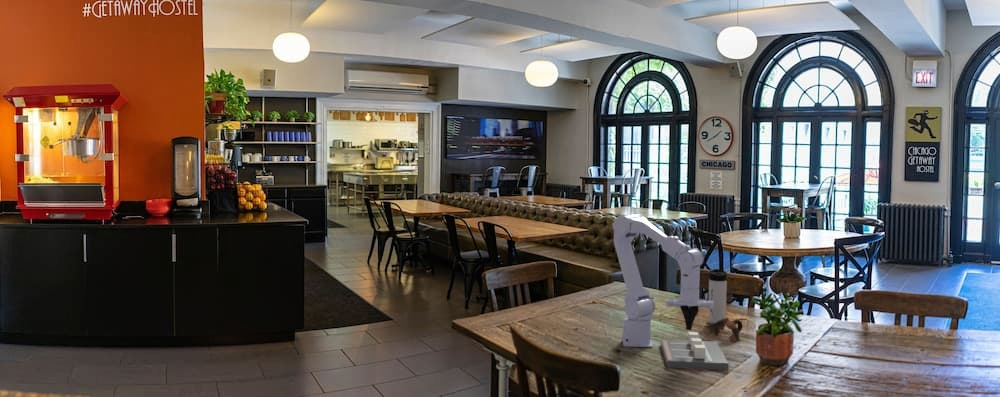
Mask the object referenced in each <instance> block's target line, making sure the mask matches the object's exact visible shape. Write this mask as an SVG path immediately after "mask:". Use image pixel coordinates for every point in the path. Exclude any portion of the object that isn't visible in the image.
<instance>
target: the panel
mask: <svg viewBox="0 0 1000 397" xmlns="http://www.w3.org/2000/svg"><path fill="white" fill-rule="evenodd" d="M702 345H704V346H705V359H696V358H695V357H694V351H692V350H691V345H689V343H688V340H683V339H682V340H681V339H680V340H679V339H660V347H661V350H662V354H663V357H664V361H665V365H666V367H667V368H677V369H679V368H680V369H696V370H697V369H699V370H701V369H702V370H724V371H726V370H727V371H728V370H729V362H728V360H727V359H726V357H725V355H724V353H723V350H722V348H720V346H719V343H718V342H717V341H714V340H713V341H708V340H702Z"/></svg>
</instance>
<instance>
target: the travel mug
mask: <svg viewBox="0 0 1000 397" xmlns="http://www.w3.org/2000/svg"><path fill="white" fill-rule="evenodd" d="M727 276H728V275H727V271H725V270H722V269H721V270H720V269H719V268H714V269H711V270H709V277H708V278H709V279H708V301H713V303H714V304H713V308H707V309H708V310H707V312H708V313H707V315H708V319H707V323H708V324H709V325H711V324H713V323H716V322H717V321H719V320H721V319H724V318H727V291H728V290H727V285H728V284H727V283H728V281H727V280H728V279H727V278H728V277H727ZM724 326H726V325H725V324H724Z"/></svg>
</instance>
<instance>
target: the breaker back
mask: <svg viewBox="0 0 1000 397" xmlns="http://www.w3.org/2000/svg"><path fill="white" fill-rule="evenodd" d="M691 338H700V334H699V332H696V331H687V341H688V343H689V345H691Z"/></svg>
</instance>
